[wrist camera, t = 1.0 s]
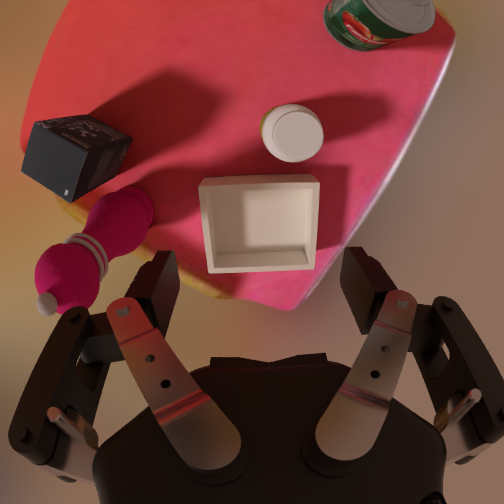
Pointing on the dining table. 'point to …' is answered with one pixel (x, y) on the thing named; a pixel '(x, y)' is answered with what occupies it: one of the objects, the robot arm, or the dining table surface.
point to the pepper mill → (92, 251)
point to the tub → (260, 222)
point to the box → (74, 154)
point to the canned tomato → (376, 21)
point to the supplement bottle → (291, 132)
